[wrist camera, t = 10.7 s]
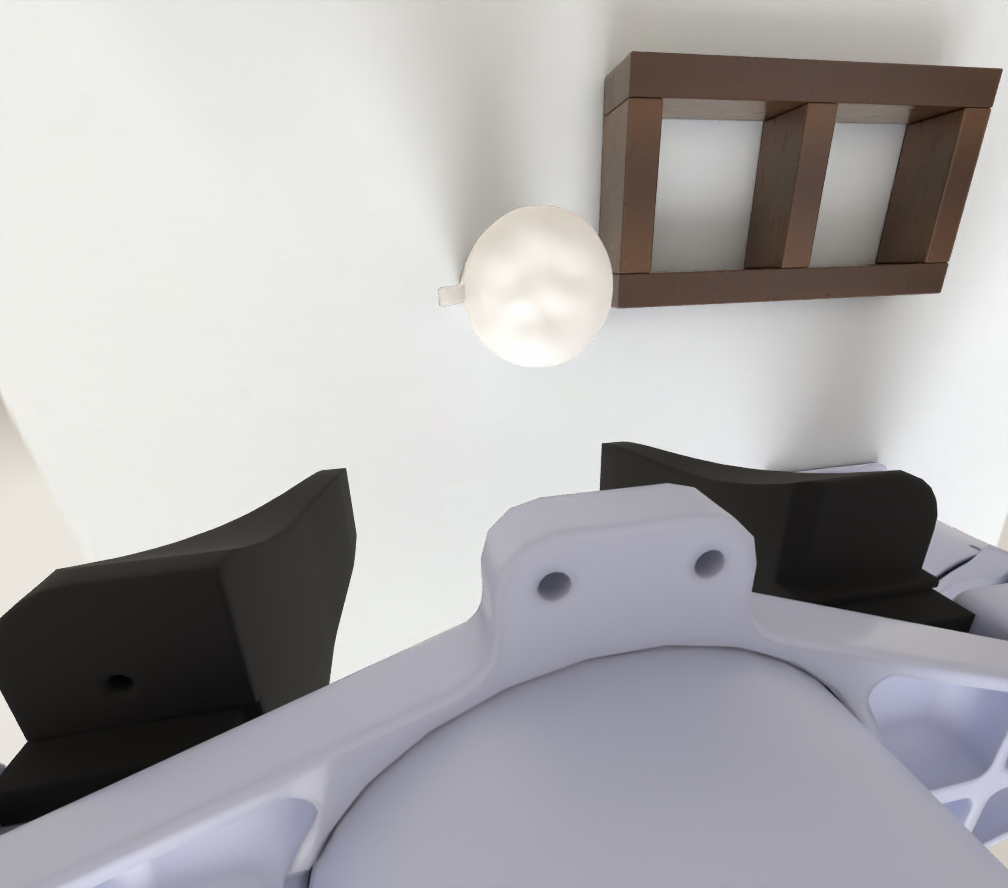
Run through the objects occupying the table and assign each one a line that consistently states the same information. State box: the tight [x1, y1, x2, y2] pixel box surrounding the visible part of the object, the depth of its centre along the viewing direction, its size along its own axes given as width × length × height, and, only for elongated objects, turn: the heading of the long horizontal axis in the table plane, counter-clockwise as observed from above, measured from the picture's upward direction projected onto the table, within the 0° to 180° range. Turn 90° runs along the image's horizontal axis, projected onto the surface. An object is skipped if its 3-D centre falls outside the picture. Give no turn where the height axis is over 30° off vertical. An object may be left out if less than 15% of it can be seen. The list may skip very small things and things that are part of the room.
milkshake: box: [438, 206, 613, 367], centre depth 17 cm, size 4×5×10 cm
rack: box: [599, 51, 1003, 308], centre depth 21 cm, size 9×17×3 cm, turn 92°
